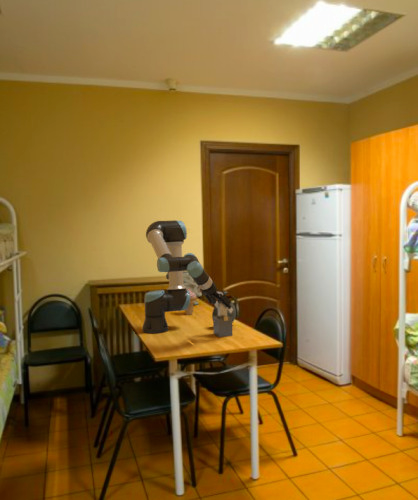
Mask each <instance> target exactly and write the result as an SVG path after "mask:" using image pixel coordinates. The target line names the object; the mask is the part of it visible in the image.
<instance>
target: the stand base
mask: <svg viewBox="0 0 418 500" xmlns="http://www.w3.org/2000/svg"><path fill="white" fill-rule="evenodd" d="M212 321H213V322H212V323H213V327H212V328H213V335H215V336H216V337H217V338H225V337H231V336H233V323H232V317H230V316H228V315H227V316H226V317H223V318H218V316H213V319H212Z"/></svg>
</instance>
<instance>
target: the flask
mask: <svg viewBox="0 0 418 500" xmlns="http://www.w3.org/2000/svg"><path fill="white" fill-rule="evenodd" d="M223 292H224V294H225V295H226V296H227V294H228V291H223ZM230 305H231V307H232V309H233V311H232V313H229V311H228V310H227V315H228V316H230V317H232V324H233V323H234V321H235V319H236V315H237V312H236V311H237V310H236V305H234V303H233V302H232V301H231V303H230ZM213 316H218V309H217V308H216V307H215V306H214V307H213V310H212V314H211V318H212V320H213Z"/></svg>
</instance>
